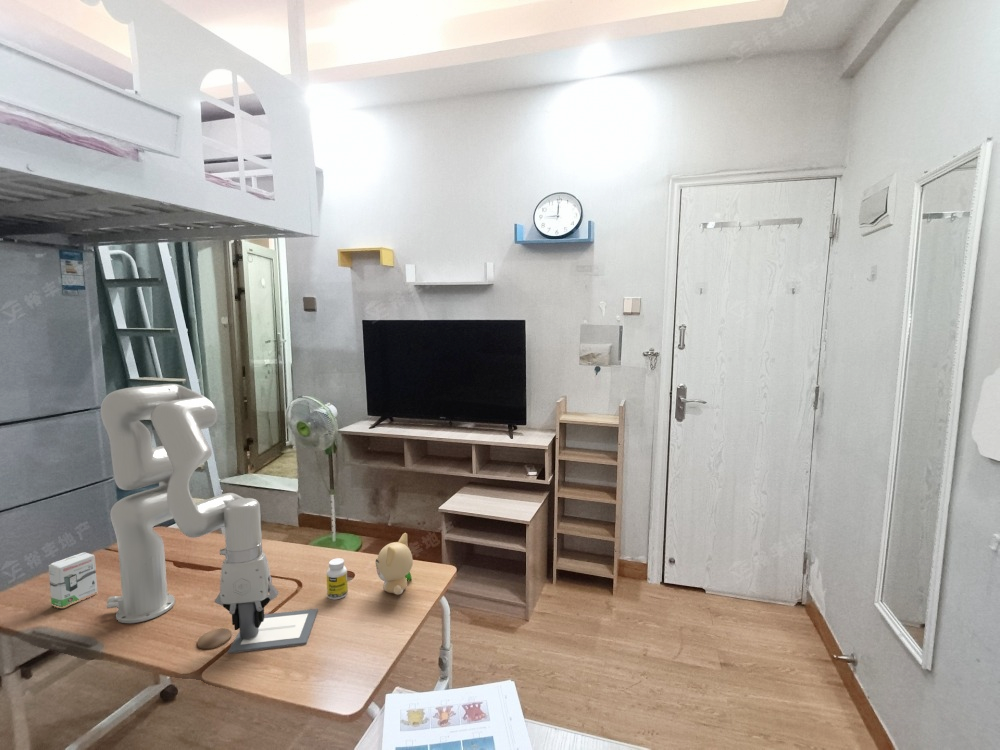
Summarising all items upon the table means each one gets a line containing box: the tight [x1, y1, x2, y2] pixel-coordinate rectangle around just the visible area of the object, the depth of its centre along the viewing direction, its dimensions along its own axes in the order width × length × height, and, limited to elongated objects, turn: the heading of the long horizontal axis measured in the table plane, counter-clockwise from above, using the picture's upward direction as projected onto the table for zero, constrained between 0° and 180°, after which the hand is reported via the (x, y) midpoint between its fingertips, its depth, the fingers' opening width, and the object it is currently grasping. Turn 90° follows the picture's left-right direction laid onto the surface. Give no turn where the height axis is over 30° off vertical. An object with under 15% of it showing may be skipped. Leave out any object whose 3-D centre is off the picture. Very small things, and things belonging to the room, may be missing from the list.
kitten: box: [375, 532, 414, 596], centre depth 136 cm, size 15×10×15 cm, turn 164°
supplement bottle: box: [326, 557, 349, 600], centre depth 134 cm, size 5×5×10 cm
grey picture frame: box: [227, 608, 319, 654], centre depth 118 cm, size 17×14×1 cm
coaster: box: [197, 627, 233, 650], centre depth 115 cm, size 7×7×1 cm
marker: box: [238, 602, 259, 639], centre depth 115 cm, size 4×4×11 cm
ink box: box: [48, 551, 98, 607], centre depth 132 cm, size 9×5×12 cm, turn 159°
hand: (248, 624), depth 115 cm, fingers closed on marker, 3 cm apart
